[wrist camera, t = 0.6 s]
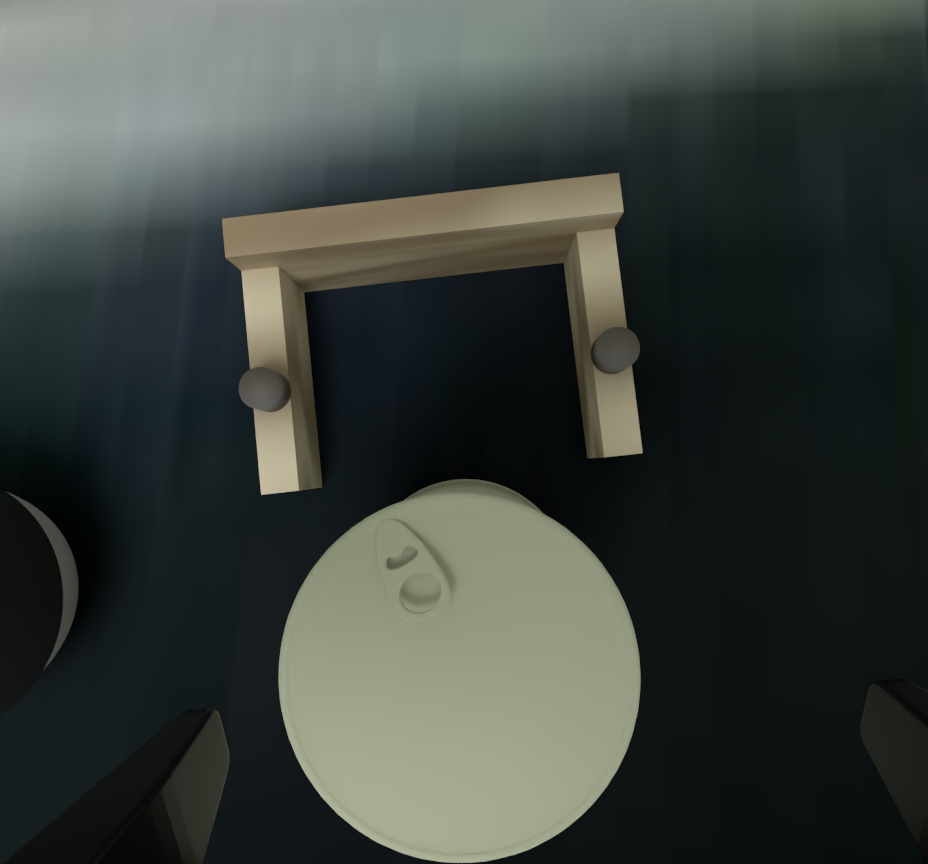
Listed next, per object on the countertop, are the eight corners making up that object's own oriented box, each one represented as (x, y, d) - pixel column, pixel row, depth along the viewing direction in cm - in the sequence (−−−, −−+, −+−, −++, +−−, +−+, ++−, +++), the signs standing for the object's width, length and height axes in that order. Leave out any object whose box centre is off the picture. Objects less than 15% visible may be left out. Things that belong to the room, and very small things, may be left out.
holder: (621, 454, 26) (655, 452, 21) (288, 490, 26) (244, 496, 21) (593, 227, 27) (620, 172, 22) (268, 264, 27) (220, 218, 22)
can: (511, 443, 26) (540, 426, 14) (606, 629, 26) (719, 772, 14) (328, 536, 26) (204, 596, 14) (420, 724, 26) (371, 951, 14)
